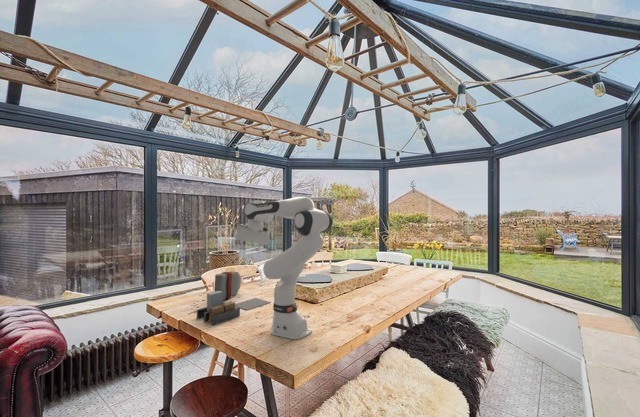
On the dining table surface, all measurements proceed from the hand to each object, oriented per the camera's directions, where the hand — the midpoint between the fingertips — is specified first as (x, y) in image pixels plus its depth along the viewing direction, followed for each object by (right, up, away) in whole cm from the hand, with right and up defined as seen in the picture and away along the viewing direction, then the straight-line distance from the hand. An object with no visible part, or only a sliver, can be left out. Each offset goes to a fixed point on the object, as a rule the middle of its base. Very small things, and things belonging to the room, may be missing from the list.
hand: (249, 249), depth 174 cm
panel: (-22, -41, +3) cm, 46 cm away
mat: (-5, -41, +25) cm, 48 cm away
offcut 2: (-13, -41, +2) cm, 43 cm away
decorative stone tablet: (-25, -41, +40) cm, 62 cm away
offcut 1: (-18, -41, -5) cm, 45 cm away
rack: (-19, -40, +1) cm, 45 cm away
